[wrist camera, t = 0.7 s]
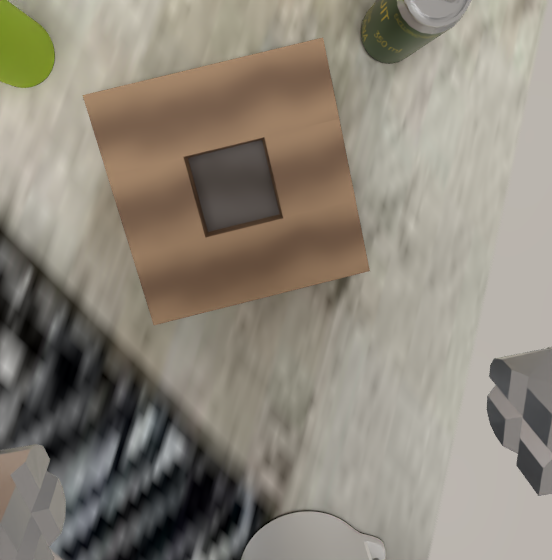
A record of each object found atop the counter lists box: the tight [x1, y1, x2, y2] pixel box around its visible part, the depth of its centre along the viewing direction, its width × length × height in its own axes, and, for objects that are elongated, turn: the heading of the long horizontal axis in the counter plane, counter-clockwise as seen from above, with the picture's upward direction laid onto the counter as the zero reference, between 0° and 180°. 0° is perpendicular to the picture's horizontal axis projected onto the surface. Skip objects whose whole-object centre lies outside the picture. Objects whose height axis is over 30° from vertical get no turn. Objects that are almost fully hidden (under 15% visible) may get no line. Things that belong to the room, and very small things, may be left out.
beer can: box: [361, 0, 471, 63], centre depth 40 cm, size 5×5×12 cm
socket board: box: [83, 38, 370, 325], centre depth 46 cm, size 20×20×5 cm
